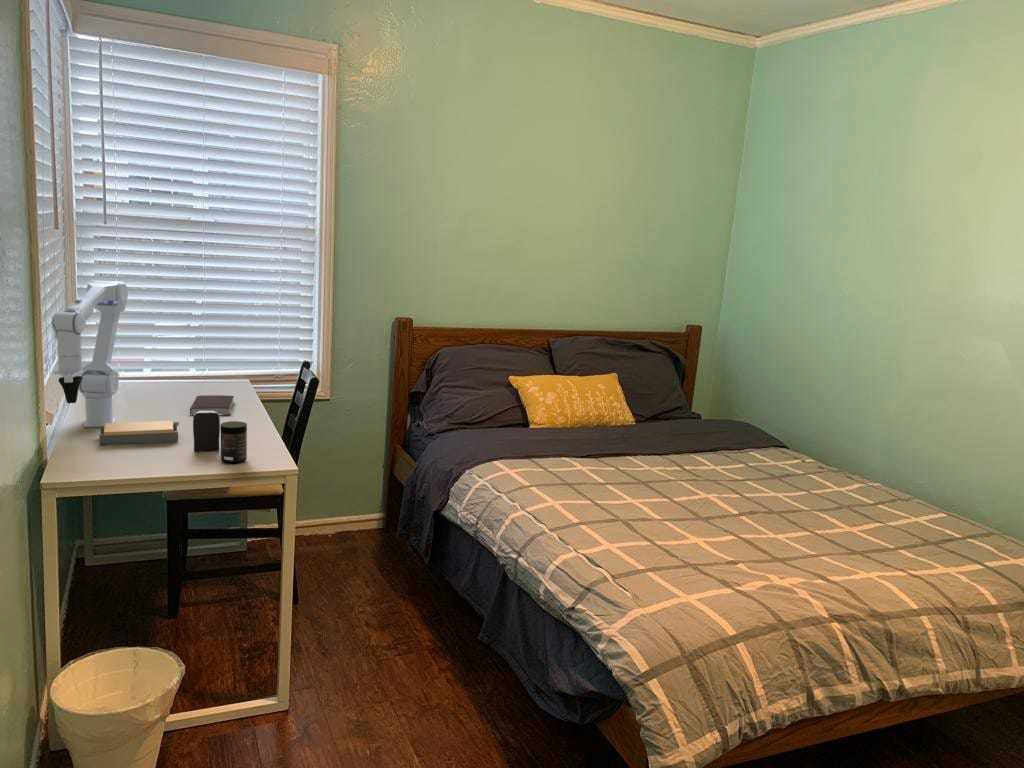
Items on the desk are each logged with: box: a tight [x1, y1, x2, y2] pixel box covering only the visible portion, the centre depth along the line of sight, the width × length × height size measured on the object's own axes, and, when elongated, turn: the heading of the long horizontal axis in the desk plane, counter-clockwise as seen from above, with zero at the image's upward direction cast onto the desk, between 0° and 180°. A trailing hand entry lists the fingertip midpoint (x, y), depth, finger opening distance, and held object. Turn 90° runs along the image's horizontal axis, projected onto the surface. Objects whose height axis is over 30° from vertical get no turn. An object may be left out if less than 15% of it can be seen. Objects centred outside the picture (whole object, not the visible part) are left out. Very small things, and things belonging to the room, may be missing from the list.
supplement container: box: [220, 420, 248, 466], centre depth 207 cm, size 7×7×10 cm
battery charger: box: [192, 411, 221, 453], centre depth 215 cm, size 7×4×11 cm, turn 111°
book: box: [189, 394, 235, 416], centre depth 261 cm, size 12×19×3 cm, turn 15°
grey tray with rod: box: [97, 421, 180, 447], centre depth 221 cm, size 9×21×4 cm, turn 115°
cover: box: [104, 420, 174, 436], centre depth 220 cm, size 9×18×1 cm, turn 115°
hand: (71, 402), depth 216 cm, fingers closed
